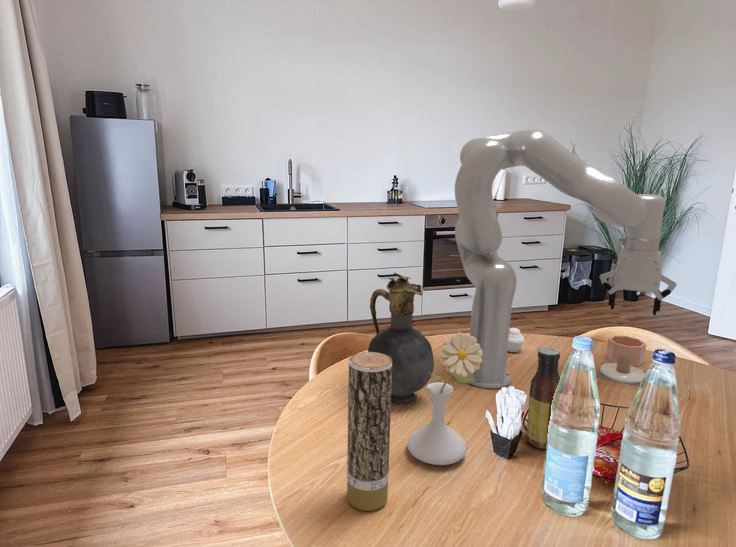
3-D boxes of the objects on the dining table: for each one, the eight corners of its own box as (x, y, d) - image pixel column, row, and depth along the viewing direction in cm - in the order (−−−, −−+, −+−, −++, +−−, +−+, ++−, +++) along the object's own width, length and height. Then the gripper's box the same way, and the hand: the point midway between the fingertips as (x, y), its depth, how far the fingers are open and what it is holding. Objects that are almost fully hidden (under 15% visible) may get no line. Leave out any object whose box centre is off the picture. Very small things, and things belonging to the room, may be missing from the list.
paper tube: (386, 486, 92) (390, 352, 86) (388, 513, 85) (394, 369, 79) (346, 486, 91) (348, 351, 86) (346, 513, 85) (348, 368, 79)
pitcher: (402, 416, 116) (408, 284, 109) (352, 385, 130) (354, 266, 123) (438, 403, 122) (445, 277, 115) (386, 374, 137) (390, 261, 130)
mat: (645, 389, 132) (645, 387, 132) (597, 379, 137) (597, 377, 136) (645, 373, 141) (645, 371, 141) (601, 364, 146) (601, 363, 146)
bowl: (615, 367, 145) (618, 346, 143) (601, 354, 153) (604, 335, 152) (647, 368, 145) (651, 347, 143) (632, 355, 153) (635, 336, 152)
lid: (610, 383, 134) (613, 362, 132) (593, 365, 144) (595, 346, 143) (653, 384, 133) (656, 363, 132) (633, 366, 144) (635, 347, 143)
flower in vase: (403, 467, 97) (409, 339, 92) (409, 435, 108) (414, 319, 102) (475, 476, 95) (485, 345, 89) (474, 442, 106) (483, 324, 100)
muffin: (508, 355, 151) (510, 332, 150) (497, 347, 157) (499, 325, 156) (527, 353, 153) (529, 330, 151) (516, 345, 159) (518, 323, 157)
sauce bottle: (554, 435, 109) (564, 345, 105) (562, 452, 103) (573, 357, 99) (522, 433, 110) (531, 343, 105) (527, 450, 104) (537, 355, 99)
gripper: (602, 244, 131) (595, 310, 135) (682, 250, 123) (672, 320, 128) (604, 239, 138) (597, 302, 142) (681, 245, 130) (671, 312, 134)
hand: (633, 310), depth 135 cm, fingers open, 9 cm apart
